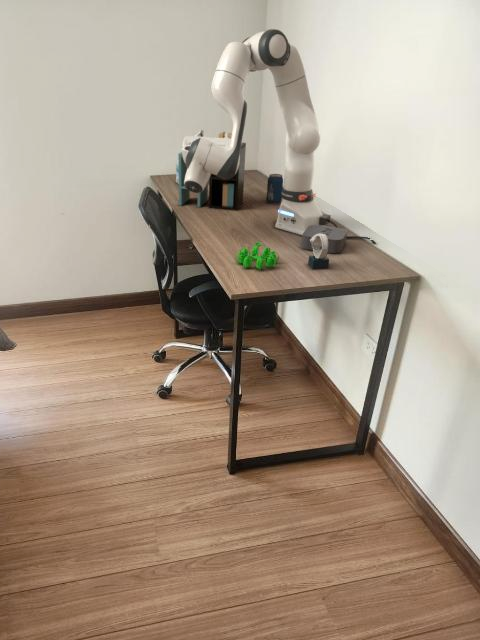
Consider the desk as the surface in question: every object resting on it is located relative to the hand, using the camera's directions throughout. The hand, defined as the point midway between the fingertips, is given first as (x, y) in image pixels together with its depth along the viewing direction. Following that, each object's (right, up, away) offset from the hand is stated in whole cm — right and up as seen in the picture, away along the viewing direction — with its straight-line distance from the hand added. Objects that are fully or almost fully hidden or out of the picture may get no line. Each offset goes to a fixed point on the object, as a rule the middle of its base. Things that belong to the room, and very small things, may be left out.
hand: (213, 132), depth 207 cm
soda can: (+29, -13, +42) cm, 53 cm away
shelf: (+7, -16, +37) cm, 41 cm away
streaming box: (+40, -46, -7) cm, 62 cm away
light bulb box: (-12, +6, +70) cm, 72 cm away
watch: (+34, -57, -24) cm, 71 cm away
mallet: (+5, +2, +17) cm, 18 cm away
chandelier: (+14, -56, -22) cm, 62 cm away
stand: (-8, -13, +41) cm, 44 cm away
